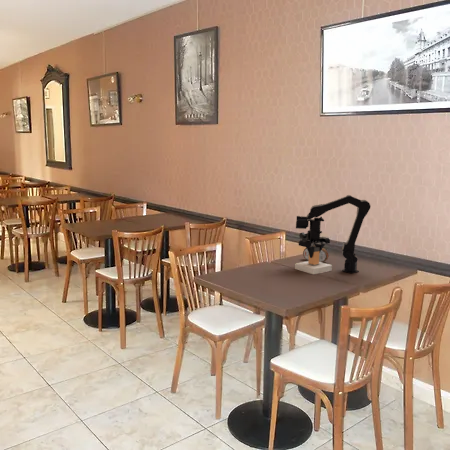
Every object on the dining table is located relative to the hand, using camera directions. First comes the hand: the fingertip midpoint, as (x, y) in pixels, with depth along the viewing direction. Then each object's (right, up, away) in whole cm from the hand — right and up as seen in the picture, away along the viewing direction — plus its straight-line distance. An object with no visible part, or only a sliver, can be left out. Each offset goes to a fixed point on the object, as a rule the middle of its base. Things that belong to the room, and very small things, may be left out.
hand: (313, 257), depth 261 cm
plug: (0, -3, +1) cm, 3 cm away
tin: (+5, -4, +20) cm, 21 cm away
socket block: (0, -7, +1) cm, 7 cm away
